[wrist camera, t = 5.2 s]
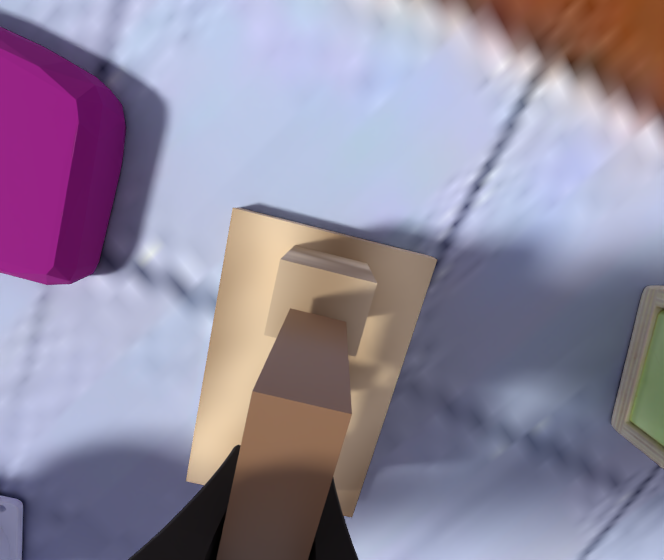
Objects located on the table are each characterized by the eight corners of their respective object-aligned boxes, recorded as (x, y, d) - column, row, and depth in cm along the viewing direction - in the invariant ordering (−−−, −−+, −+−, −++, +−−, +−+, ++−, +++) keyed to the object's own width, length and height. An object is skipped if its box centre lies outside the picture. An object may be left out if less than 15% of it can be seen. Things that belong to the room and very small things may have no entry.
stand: (193, 467, 20) (145, 554, 15) (239, 207, 16) (196, 209, 11) (351, 502, 20) (355, 597, 15) (431, 256, 16) (470, 278, 12)
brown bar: (230, 570, 14) (172, 766, 9) (290, 308, 11) (252, 390, 6) (274, 579, 14) (241, 778, 9) (346, 321, 11) (352, 414, 6)
